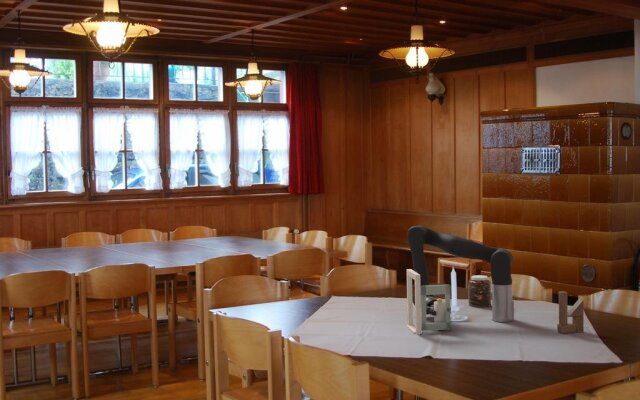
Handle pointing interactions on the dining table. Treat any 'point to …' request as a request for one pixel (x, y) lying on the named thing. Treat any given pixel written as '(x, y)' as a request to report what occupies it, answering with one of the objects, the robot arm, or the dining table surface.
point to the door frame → (415, 328)
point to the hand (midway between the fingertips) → (441, 313)
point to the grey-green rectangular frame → (445, 290)
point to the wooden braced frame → (570, 315)
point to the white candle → (439, 311)
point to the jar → (479, 291)
